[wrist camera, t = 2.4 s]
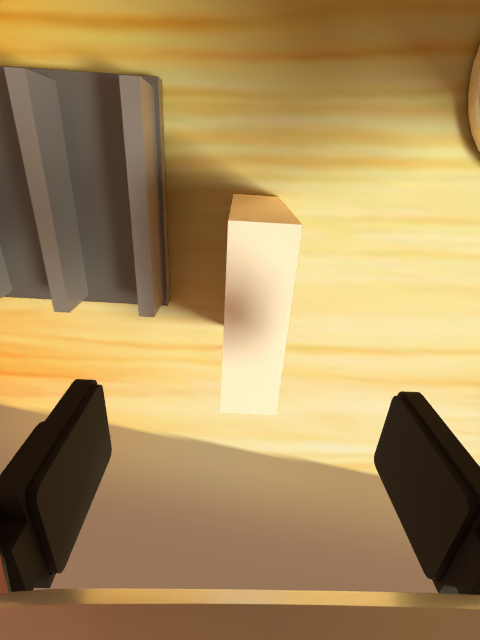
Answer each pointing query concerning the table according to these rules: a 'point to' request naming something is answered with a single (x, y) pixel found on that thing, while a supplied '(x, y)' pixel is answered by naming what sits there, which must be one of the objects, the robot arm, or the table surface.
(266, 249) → the beige square block
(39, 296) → the rack
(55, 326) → the table surface
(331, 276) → the table surface
